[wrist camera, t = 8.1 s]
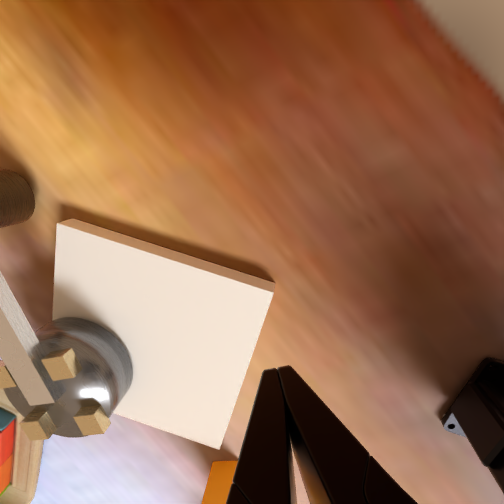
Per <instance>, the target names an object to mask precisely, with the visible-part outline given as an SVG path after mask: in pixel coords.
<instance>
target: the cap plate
mask: <svg viewBox="0 0 504 504" xmlns="http://www.w3.org/2000/svg"><path fill="white" fill-rule="evenodd" d="M274 288H275V283H273V282H270V281H267V280H264V279H261V278H258V277H255V276H252V275H248V274H245V273H242V272H239V271H236V270H233V269H230V268H227V267H223V266H220V265H217V264H214V263H211V262H208V261H205V260H202V259H198V258H195V257H192V256H189V255H186V254H183V253H180V252H177V251H174V250H170V249H167V248H164V247H161V246H158V245H155V244H152V243H149V242H145V241H142V240H139V239H136V238H133V237H130V236H127V235H124V234H120V233H117V232H114V231H111V230H108V229H105V228H102V227H99V226H95V225H92V224H89V223H86V222H83V221H80V220H77V219H74V218H72V219H69V220H65V221H62V222H59V223H57V230H56V251H55V272H54V293H53V313H52V321H53V320H55V319H59V318H64V317H76V318H82V319H86V320H89V321H91V322H94V323H96V324H98V325H100V326H102V327H103V328H105V329H106V330H108V331H109V332H110V333H112V334H113V335H114V336H115V337H116V338H117V339H118V340H119V341H120V343H121V344H122V345H123V347H124V348H125V349H126V351H127V353H128V355H129V357H130V360H131V363H132V367H133V380H132V384H131V386H130V388H129V390H128V392H127V393H126V394H125V396H124V397H123V399H122V400H121V402H120V403H119V404H118V406H117V407H116V409H115V410H114V411H113V413H114V414H117V415H120V416H123V417H126V418H129V419H132V420H135V421H138V422H140V423H143V424H146V425H149V426H152V427H155V428H158V429H161V430H163V431H166V432H169V433H172V434H175V435H178V436H181V437H184V438H186V439H189V440H192V441H195V442H198V443H201V444H204V445H207V446H210V447H212V448H215V449H218V450H219V449H220V446H221V443H222V441H223V438H224V435H225V432H226V429H227V426H228V423H229V420H230V418H231V415H232V412H233V409H234V406H235V403H236V400H237V397H238V394H239V392H240V389H241V386H242V383H243V380H244V377H245V374H246V371H247V368H248V366H249V363H250V360H251V357H252V354H253V351H254V348H255V345H256V342H257V340H258V337H259V334H260V331H261V328H262V325H263V322H264V319H265V316H266V314H267V311H268V308H269V305H270V302H271V299H272V296H273V293H274Z"/></svg>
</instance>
